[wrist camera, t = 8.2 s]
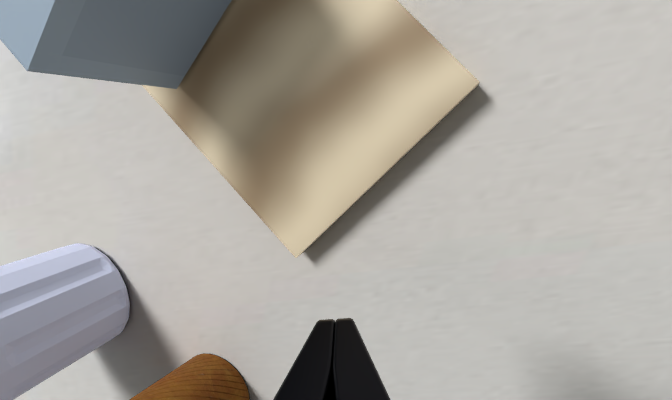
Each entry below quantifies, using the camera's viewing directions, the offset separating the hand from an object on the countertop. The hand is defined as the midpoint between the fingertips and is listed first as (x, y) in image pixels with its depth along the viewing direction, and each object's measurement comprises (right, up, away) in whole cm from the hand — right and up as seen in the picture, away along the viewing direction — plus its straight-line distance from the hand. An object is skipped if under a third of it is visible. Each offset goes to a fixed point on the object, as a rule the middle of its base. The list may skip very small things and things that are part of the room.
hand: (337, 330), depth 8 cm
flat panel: (-5, +12, +12) cm, 18 cm away
